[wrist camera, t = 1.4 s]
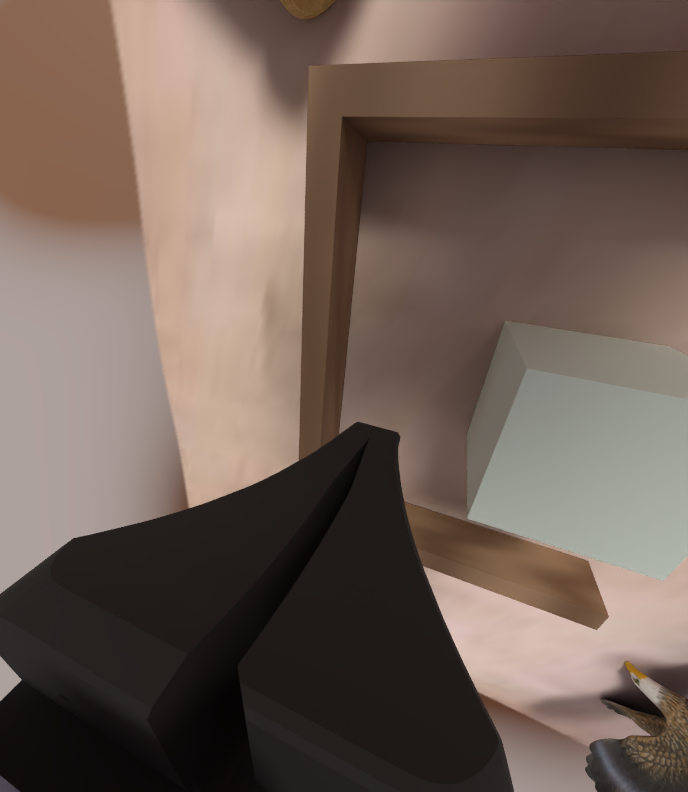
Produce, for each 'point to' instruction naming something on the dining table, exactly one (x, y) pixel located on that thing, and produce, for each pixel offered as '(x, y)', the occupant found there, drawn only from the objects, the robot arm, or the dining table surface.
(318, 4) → the gavel
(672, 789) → the eagle figurine
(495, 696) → the dining table surface
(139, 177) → the dining table surface
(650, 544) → the cube
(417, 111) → the wooden frame
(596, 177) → the dining table surface
